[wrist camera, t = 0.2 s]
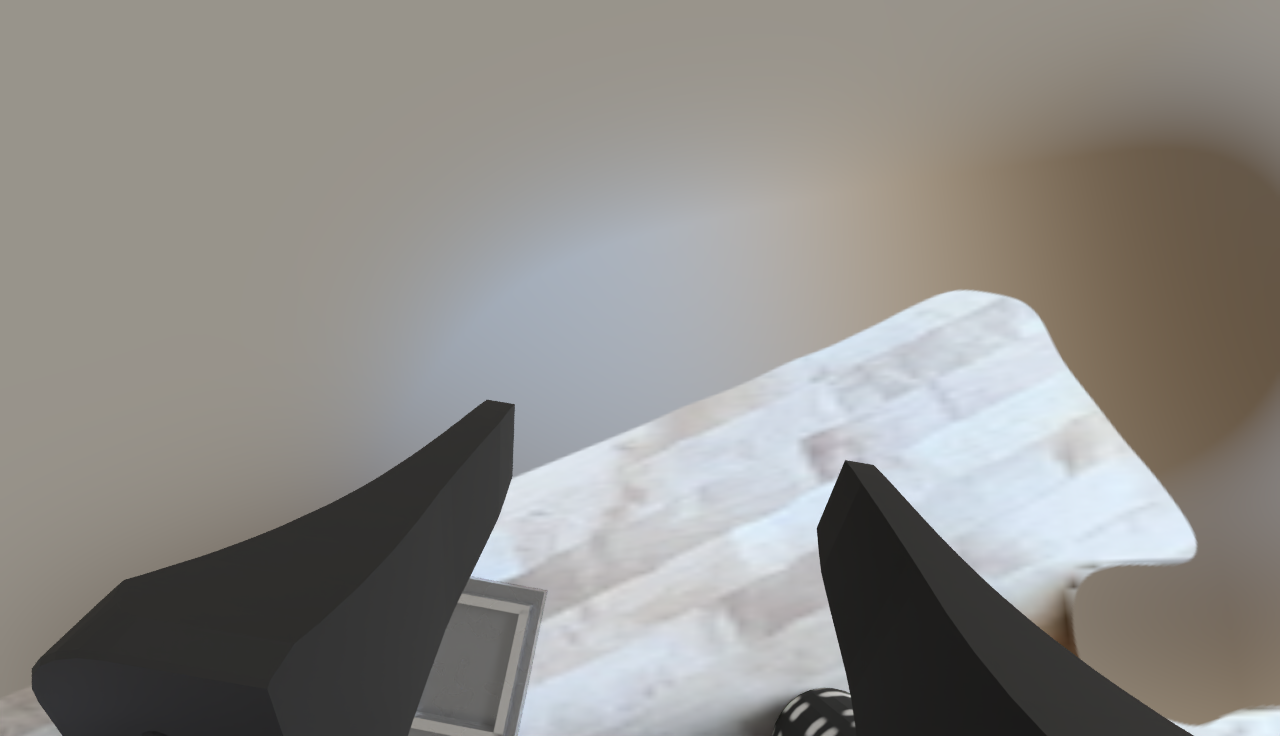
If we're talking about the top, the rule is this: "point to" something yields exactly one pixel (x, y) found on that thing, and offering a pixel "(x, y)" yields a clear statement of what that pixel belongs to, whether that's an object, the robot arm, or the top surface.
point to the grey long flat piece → (482, 663)
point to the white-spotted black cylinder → (818, 715)
